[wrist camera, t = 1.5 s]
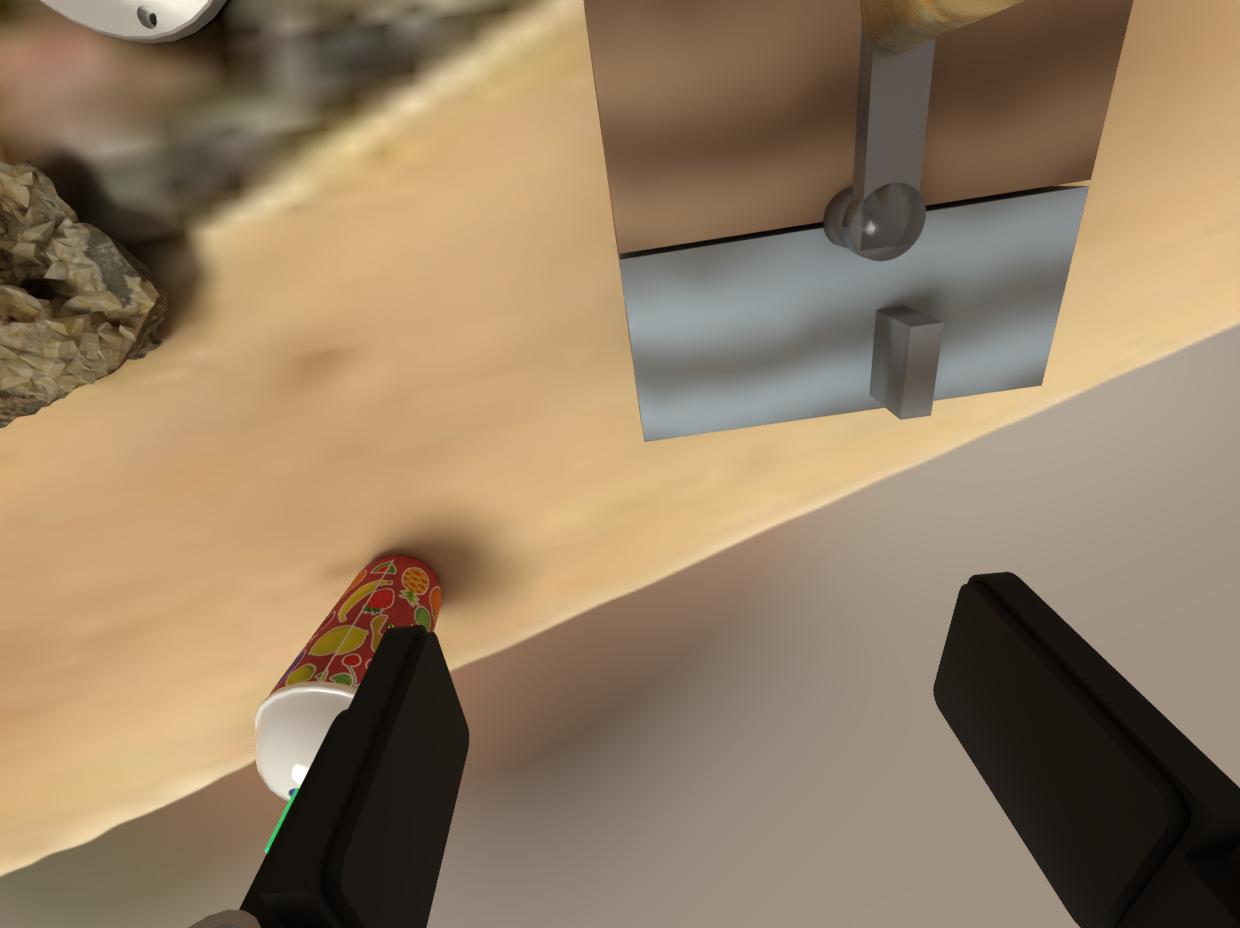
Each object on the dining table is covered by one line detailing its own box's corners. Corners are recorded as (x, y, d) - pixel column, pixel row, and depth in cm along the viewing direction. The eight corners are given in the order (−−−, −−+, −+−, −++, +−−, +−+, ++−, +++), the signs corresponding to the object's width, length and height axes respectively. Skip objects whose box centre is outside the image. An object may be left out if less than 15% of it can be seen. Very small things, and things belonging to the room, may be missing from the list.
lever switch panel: (585, 13, 27) (578, -53, 20) (1068, -73, 26) (1264, -178, 18) (639, 411, 38) (649, 471, 30) (988, 360, 37) (1092, 409, 29)
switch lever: (912, 251, 26) (1015, 275, 19) (836, 263, 26) (913, 290, 19) (945, -69, 20) (1104, -183, 14) (849, -52, 20) (962, -157, 14)
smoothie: (465, 615, 46) (380, 888, 28) (369, 624, 46) (224, 900, 28) (442, 536, 42) (326, 794, 24) (337, 545, 42) (145, 809, 24)
